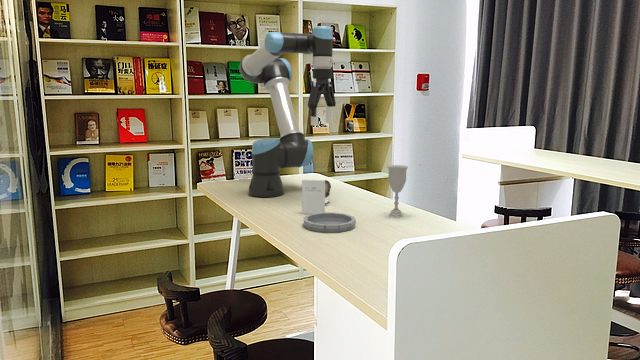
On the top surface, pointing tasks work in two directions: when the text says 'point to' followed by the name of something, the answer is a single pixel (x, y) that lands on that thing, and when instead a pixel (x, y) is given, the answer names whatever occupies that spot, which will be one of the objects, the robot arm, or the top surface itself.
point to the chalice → (396, 185)
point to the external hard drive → (313, 196)
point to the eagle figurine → (327, 190)
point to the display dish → (329, 222)
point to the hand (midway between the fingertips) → (322, 124)
